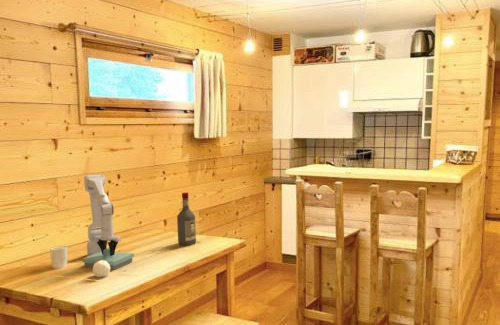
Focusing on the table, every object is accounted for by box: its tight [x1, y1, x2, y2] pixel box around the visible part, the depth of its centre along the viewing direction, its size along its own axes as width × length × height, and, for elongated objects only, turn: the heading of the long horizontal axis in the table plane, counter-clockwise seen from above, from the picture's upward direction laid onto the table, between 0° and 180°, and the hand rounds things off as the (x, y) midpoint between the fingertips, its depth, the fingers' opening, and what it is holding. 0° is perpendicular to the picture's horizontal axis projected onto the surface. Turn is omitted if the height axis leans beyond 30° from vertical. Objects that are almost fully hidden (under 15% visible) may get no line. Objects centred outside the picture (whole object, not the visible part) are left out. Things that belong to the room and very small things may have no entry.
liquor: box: [176, 192, 197, 247], centre depth 268 cm, size 9×9×30 cm
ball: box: [92, 260, 111, 278], centre depth 211 cm, size 8×8×8 cm
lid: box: [81, 247, 135, 266], centre depth 229 cm, size 19×15×5 cm
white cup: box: [49, 245, 68, 269], centre depth 228 cm, size 8×8×10 cm
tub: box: [84, 258, 133, 271], centre depth 229 cm, size 18×14×4 cm
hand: (108, 255), depth 229 cm, fingers open, 4 cm apart
